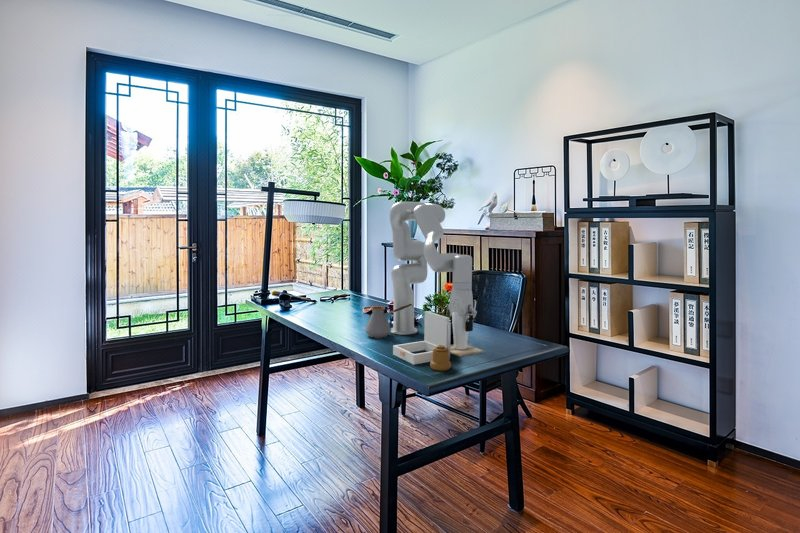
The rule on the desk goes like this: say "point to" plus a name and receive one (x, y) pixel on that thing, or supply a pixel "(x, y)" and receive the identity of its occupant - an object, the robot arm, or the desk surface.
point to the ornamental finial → (440, 359)
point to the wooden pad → (465, 351)
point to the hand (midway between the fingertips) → (461, 328)
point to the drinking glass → (459, 331)
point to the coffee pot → (380, 322)
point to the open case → (426, 340)
